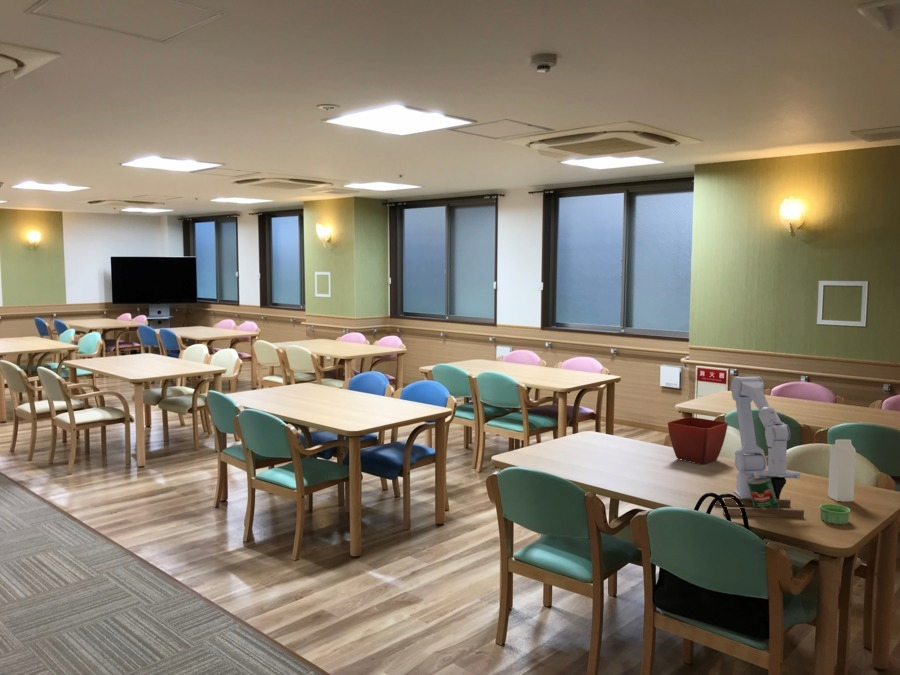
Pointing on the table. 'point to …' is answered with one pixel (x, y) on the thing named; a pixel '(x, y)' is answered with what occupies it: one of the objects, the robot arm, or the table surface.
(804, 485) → the table surface
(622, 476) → the table surface
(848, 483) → the milk
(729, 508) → the beam channel
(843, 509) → the ramekin
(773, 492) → the canned tomato
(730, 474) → the table surface
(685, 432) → the plant pot
